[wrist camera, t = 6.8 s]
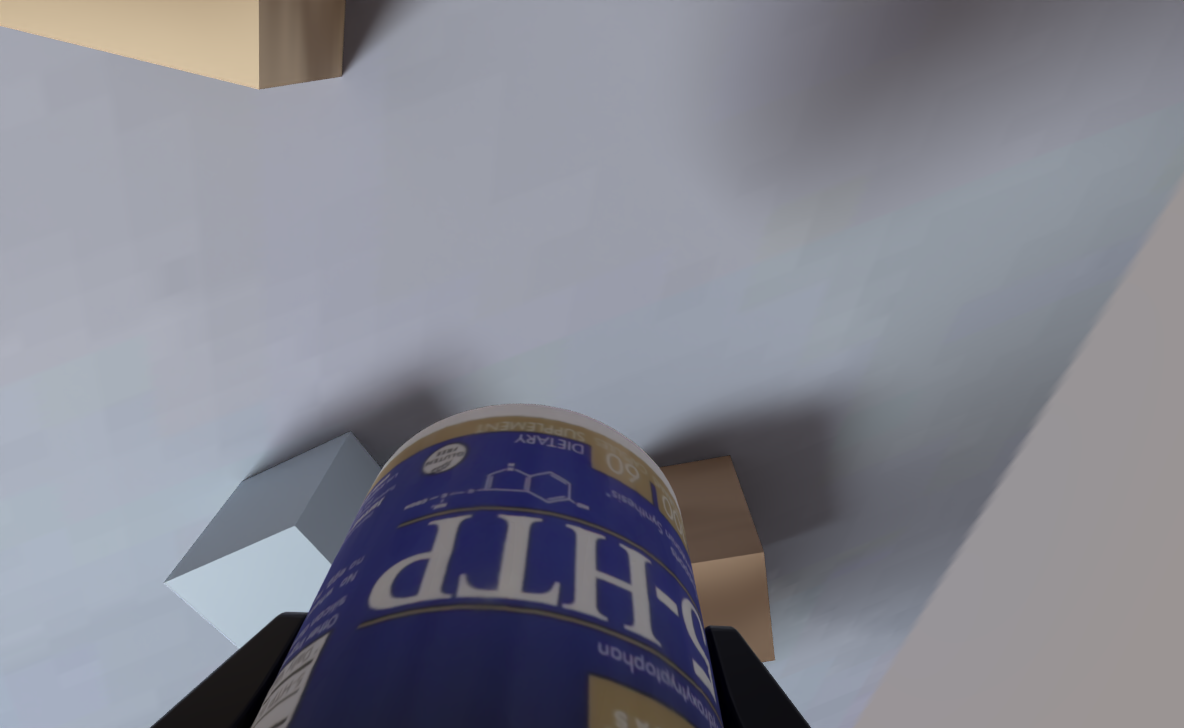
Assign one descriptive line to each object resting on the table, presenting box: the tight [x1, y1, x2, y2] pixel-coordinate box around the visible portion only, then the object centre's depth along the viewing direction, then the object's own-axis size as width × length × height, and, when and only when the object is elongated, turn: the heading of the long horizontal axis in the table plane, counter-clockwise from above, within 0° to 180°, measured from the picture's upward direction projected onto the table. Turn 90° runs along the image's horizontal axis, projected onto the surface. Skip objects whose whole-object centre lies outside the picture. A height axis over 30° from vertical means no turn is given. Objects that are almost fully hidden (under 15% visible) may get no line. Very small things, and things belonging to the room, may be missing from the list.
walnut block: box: [659, 455, 775, 662], centre depth 22 cm, size 5×5×5 cm
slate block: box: [164, 431, 382, 649], centre depth 22 cm, size 5×5×5 cm
